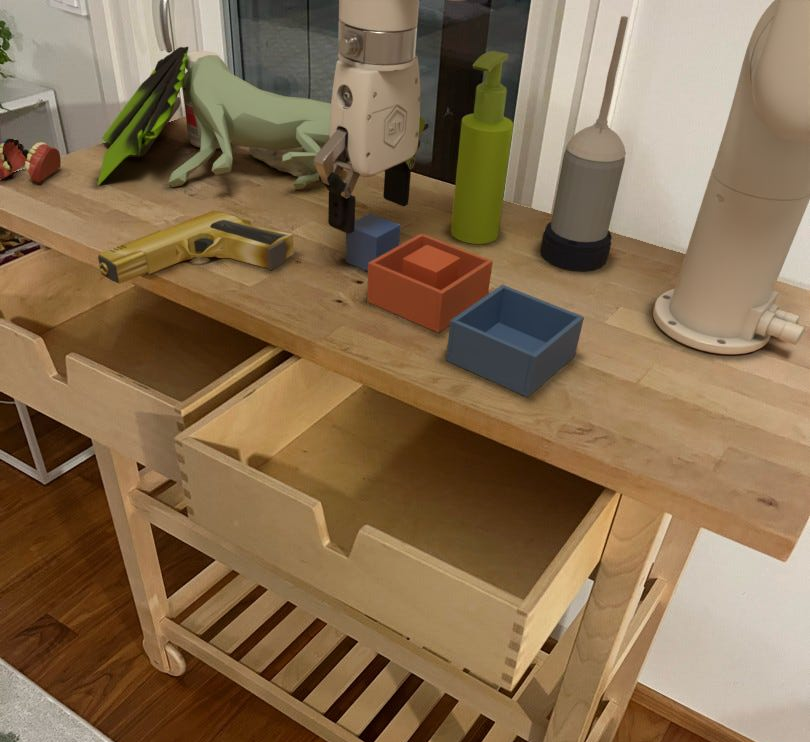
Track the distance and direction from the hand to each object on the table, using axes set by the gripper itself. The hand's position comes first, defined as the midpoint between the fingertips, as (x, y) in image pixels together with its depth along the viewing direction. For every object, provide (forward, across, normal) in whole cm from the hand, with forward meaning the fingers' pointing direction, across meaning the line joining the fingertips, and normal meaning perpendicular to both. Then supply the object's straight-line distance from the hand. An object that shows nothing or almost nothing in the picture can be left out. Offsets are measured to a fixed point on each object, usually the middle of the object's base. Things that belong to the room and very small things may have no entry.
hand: (369, 215), depth 92 cm
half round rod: (+4, +9, +47) cm, 48 cm away
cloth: (0, +2, +40) cm, 40 cm away
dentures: (+4, -10, +43) cm, 44 cm away
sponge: (+6, +14, +26) cm, 30 cm away
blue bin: (+5, -6, -24) cm, 25 cm away
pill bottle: (+6, +12, +38) cm, 41 cm away
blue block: (+5, 0, -1) cm, 5 cm away
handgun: (+4, -14, +7) cm, 16 cm away
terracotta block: (+5, -3, -11) cm, 12 cm away
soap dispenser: (+5, +14, -5) cm, 16 cm away
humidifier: (+5, +18, -17) cm, 26 cm away
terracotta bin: (+5, -3, -11) cm, 12 cm away
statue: (+6, +6, +20) cm, 22 cm away
